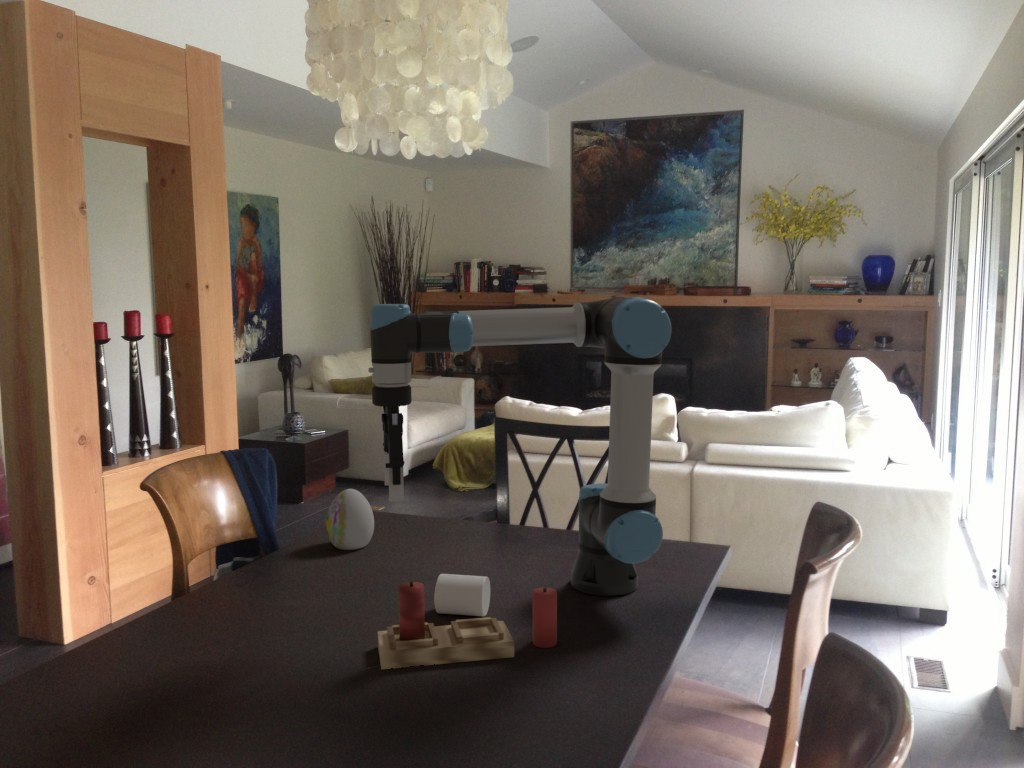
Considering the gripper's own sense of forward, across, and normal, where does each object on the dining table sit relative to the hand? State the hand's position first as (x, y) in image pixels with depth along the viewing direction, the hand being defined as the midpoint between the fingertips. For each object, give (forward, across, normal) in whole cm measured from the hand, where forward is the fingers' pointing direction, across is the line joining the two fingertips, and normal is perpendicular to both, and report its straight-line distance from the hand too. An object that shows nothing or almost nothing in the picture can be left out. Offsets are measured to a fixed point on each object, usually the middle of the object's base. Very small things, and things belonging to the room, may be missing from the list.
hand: (393, 492), depth 169 cm
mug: (+28, -6, +15) cm, 32 cm away
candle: (+27, +14, +27) cm, 41 cm away
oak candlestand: (+27, +14, +8) cm, 31 cm away
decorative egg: (+27, -57, -8) cm, 64 cm away
